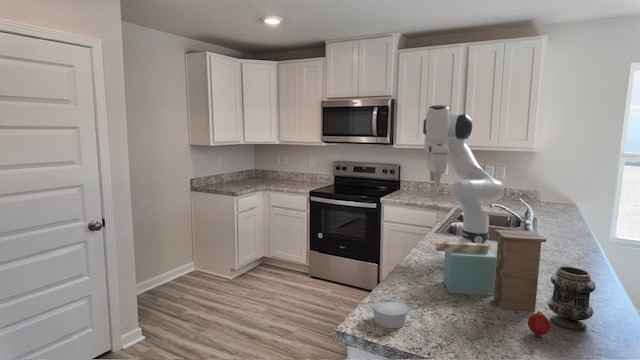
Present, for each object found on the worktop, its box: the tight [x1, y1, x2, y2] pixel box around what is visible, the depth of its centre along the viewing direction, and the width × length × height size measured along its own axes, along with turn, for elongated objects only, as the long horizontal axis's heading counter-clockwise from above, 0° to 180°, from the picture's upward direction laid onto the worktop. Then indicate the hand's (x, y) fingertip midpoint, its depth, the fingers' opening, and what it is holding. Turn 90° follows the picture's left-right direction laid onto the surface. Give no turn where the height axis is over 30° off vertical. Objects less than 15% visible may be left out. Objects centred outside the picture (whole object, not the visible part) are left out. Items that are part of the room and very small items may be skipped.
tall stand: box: [493, 229, 547, 313], centre depth 128 cm, size 10×13×26 cm
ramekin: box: [372, 298, 409, 330], centre depth 117 cm, size 11×11×5 cm
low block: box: [443, 250, 497, 296], centre depth 142 cm, size 11×16×15 cm
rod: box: [435, 240, 489, 253], centre depth 142 cm, size 19×3×3 cm, turn 82°
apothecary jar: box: [546, 265, 597, 333], centre depth 116 cm, size 12×12×18 cm
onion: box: [527, 310, 551, 337], centre depth 109 cm, size 6×6×8 cm
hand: (434, 182), depth 143 cm, fingers open, 8 cm apart
